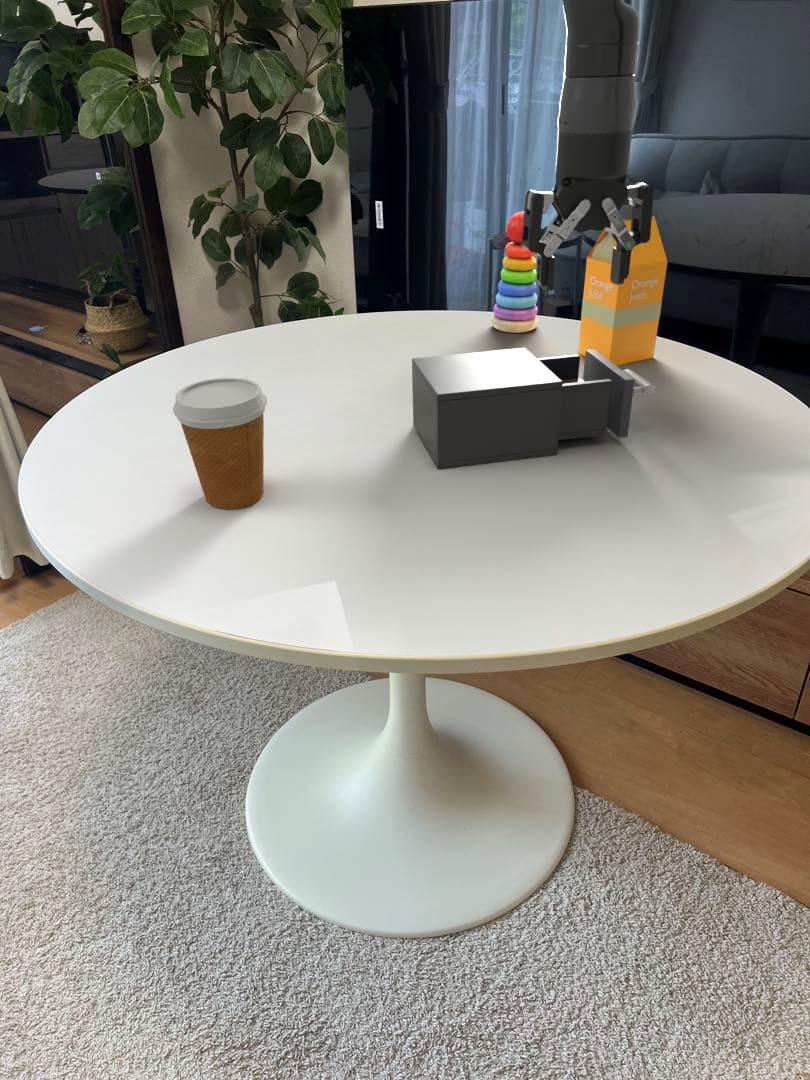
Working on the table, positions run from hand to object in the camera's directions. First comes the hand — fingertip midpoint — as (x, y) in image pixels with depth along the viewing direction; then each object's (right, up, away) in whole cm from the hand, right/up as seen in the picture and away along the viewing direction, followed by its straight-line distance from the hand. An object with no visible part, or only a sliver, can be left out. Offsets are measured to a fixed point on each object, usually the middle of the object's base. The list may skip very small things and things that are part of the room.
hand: (582, 286), depth 90 cm
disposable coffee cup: (-39, -24, -3) cm, 46 cm away
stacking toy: (-1, +8, +47) cm, 47 cm away
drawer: (+1, -14, +9) cm, 17 cm away
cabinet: (-11, -17, +7) cm, 21 cm away
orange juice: (+13, 0, +33) cm, 35 cm away
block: (0, -13, +8) cm, 16 cm away
